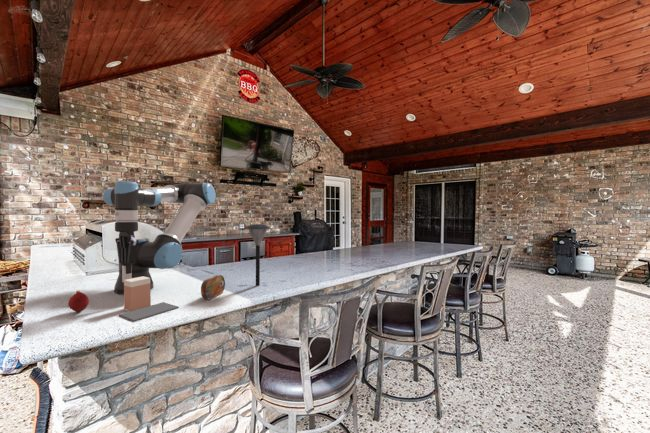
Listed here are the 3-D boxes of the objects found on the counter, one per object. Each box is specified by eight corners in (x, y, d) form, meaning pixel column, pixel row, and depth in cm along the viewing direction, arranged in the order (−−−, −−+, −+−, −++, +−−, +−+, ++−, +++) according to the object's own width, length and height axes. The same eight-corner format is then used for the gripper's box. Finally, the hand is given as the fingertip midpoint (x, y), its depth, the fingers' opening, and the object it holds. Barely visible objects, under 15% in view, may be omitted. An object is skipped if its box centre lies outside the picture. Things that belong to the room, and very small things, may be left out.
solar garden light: (259, 290, 139) (259, 225, 138) (239, 286, 145) (239, 224, 144) (275, 284, 150) (275, 224, 149) (256, 281, 156) (256, 223, 154)
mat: (119, 315, 106) (119, 314, 106) (163, 303, 119) (163, 302, 119) (134, 321, 100) (134, 320, 100) (178, 308, 114) (178, 306, 114)
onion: (89, 308, 112) (88, 287, 112) (89, 313, 108) (89, 290, 108) (68, 311, 109) (68, 290, 108) (68, 316, 104) (67, 293, 104)
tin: (206, 302, 122) (206, 281, 122) (199, 301, 122) (199, 281, 122) (225, 291, 137) (225, 273, 136) (219, 291, 137) (219, 272, 137)
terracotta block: (124, 309, 112) (123, 279, 112) (143, 303, 118) (143, 276, 118) (131, 311, 110) (130, 281, 110) (150, 306, 116) (150, 278, 116)
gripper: (107, 221, 117) (108, 281, 117) (124, 222, 110) (124, 286, 111) (128, 220, 123) (128, 277, 124) (145, 221, 116) (145, 281, 117)
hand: (126, 281), depth 117 cm, fingers closed
